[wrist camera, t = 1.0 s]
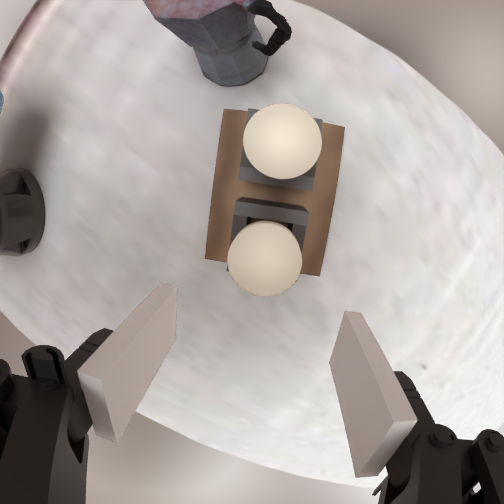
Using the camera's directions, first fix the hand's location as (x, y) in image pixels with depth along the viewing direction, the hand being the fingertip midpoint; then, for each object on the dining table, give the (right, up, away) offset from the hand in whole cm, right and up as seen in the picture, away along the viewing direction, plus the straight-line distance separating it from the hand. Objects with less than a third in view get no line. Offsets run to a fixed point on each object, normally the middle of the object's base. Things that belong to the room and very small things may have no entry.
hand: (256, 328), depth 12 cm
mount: (+2, +11, +23) cm, 25 cm away
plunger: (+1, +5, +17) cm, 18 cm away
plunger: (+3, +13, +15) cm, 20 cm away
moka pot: (-2, +28, +19) cm, 34 cm away
